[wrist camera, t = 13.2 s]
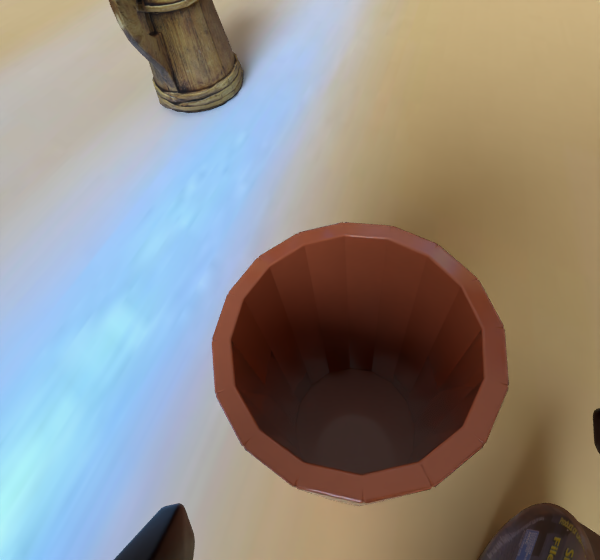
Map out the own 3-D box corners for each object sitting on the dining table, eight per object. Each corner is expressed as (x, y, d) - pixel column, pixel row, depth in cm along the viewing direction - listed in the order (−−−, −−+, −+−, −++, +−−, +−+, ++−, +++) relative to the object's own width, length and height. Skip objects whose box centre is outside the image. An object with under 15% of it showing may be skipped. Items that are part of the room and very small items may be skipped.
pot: (381, 539, 17) (426, 590, 6) (263, 449, 19) (154, 379, 9) (444, 408, 19) (550, 288, 9) (332, 343, 22) (310, 192, 11)
